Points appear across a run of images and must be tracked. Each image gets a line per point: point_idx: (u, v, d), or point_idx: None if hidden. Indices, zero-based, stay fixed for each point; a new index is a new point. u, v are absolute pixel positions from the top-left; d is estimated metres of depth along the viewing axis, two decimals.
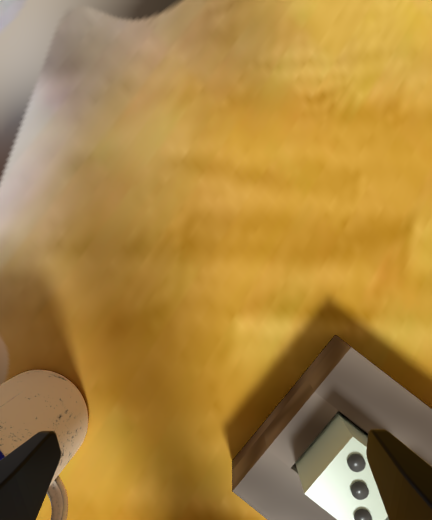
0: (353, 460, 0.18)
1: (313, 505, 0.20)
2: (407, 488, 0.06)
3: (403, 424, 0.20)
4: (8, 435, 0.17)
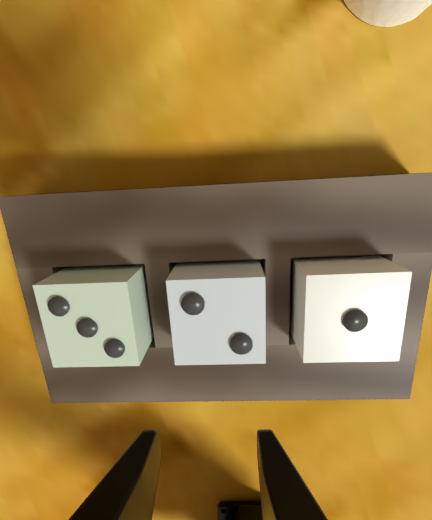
0: (52, 307, 0.14)
1: None
2: (265, 487, 0.06)
3: (114, 229, 0.15)
4: None
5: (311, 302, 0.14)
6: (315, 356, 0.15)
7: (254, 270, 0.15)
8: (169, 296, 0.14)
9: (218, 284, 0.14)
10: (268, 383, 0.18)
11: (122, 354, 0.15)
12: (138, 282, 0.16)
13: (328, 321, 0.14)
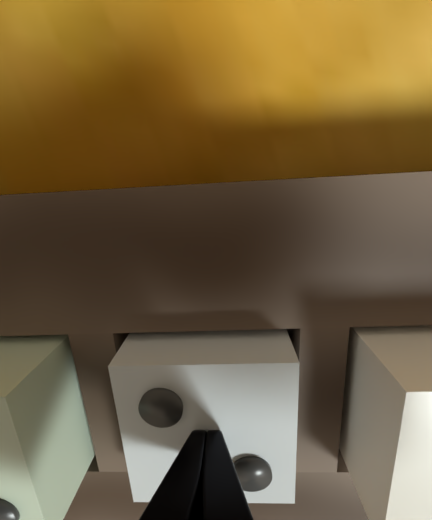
0: None
1: None
2: None
3: (4, 271, 0.08)
4: None
5: (411, 444, 0.06)
6: None
7: (275, 339, 0.08)
8: (117, 393, 0.08)
9: (209, 374, 0.07)
10: None
11: None
12: (53, 373, 0.08)
13: None
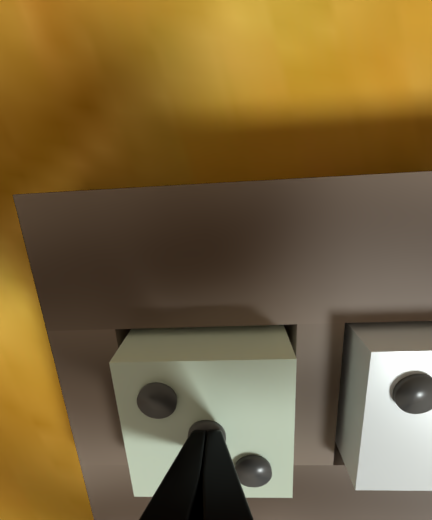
0: (145, 402, 0.08)
1: None
2: None
3: (247, 258, 0.08)
4: None
5: None
6: None
7: None
8: (371, 379, 0.07)
9: None
10: None
11: (264, 480, 0.08)
12: None
13: None
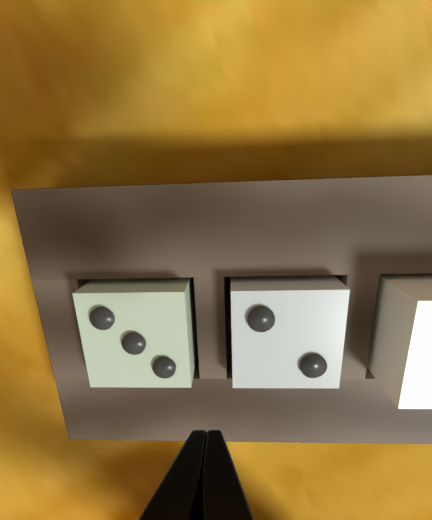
0: (94, 319, 0.12)
1: (152, 396, 0.15)
2: None
3: (158, 233, 0.12)
4: None
5: (419, 335, 0.11)
6: (415, 401, 0.12)
7: (330, 280, 0.13)
8: (233, 309, 0.12)
9: (293, 296, 0.12)
10: (334, 423, 0.15)
11: (172, 374, 0.13)
12: (190, 291, 0.14)
13: None
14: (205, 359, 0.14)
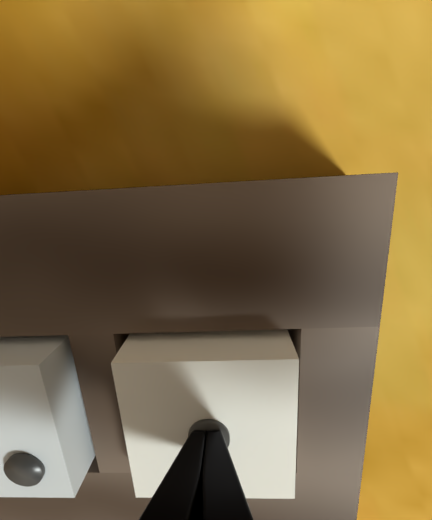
0: None
1: None
2: None
3: None
4: None
5: (129, 406, 0.08)
6: (154, 488, 0.09)
7: (48, 343, 0.09)
8: None
9: None
10: None
11: None
12: None
13: (164, 437, 0.08)
14: None
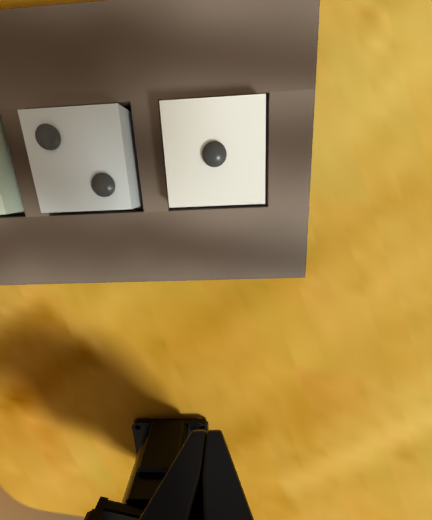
0: None
1: None
2: None
3: None
4: None
5: (168, 133, 0.13)
6: (180, 199, 0.14)
7: None
8: (24, 129, 0.14)
9: (71, 112, 0.13)
10: (152, 260, 0.16)
11: None
12: None
13: (188, 156, 0.14)
14: (26, 196, 0.16)
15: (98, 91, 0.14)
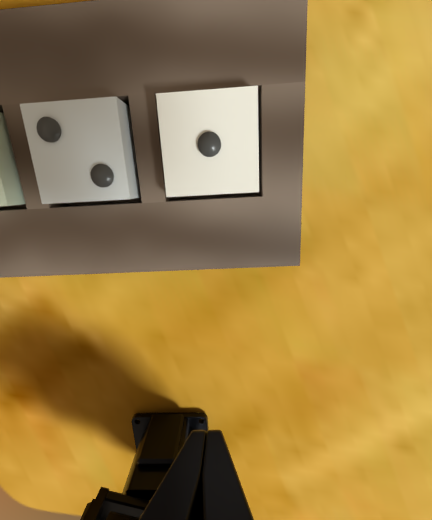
0: None
1: None
2: None
3: None
4: None
5: (164, 125, 0.14)
6: (177, 189, 0.15)
7: None
8: (26, 122, 0.14)
9: (71, 106, 0.14)
10: (150, 250, 0.17)
11: None
12: None
13: (184, 147, 0.14)
14: (27, 189, 0.16)
15: (97, 86, 0.14)
